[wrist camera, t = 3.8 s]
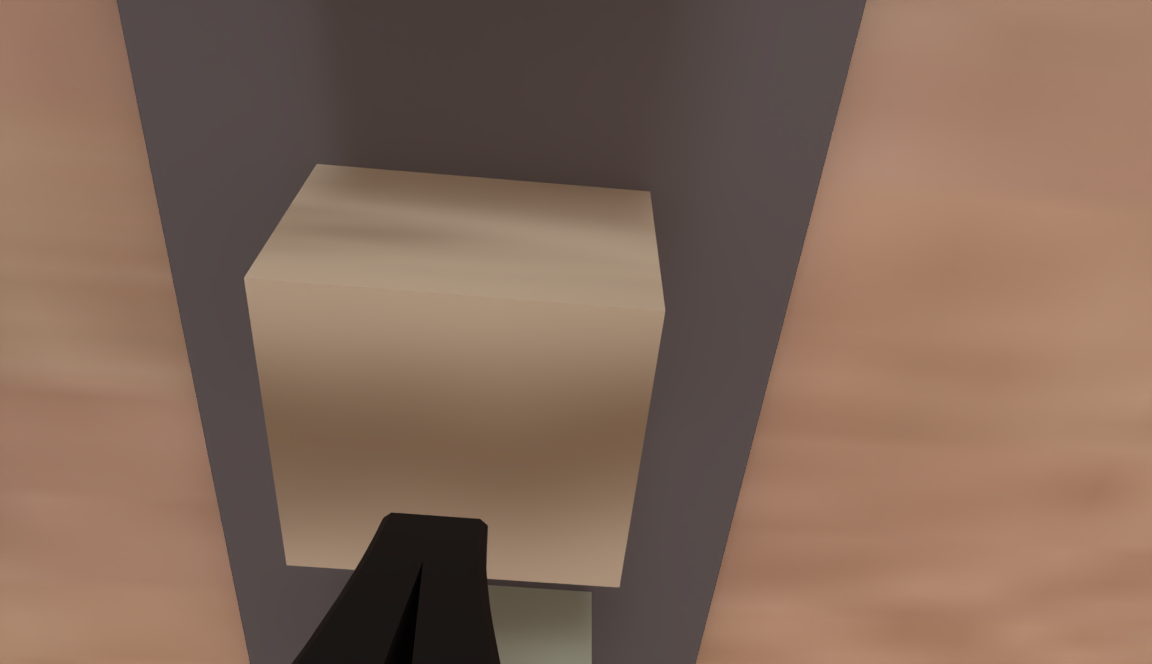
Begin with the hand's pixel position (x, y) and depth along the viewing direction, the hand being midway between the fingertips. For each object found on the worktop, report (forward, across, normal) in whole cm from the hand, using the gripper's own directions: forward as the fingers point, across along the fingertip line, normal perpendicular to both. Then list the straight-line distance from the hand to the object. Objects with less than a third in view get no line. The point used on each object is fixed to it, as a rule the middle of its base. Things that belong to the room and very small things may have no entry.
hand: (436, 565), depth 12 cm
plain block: (+6, 0, 0) cm, 6 cm away
